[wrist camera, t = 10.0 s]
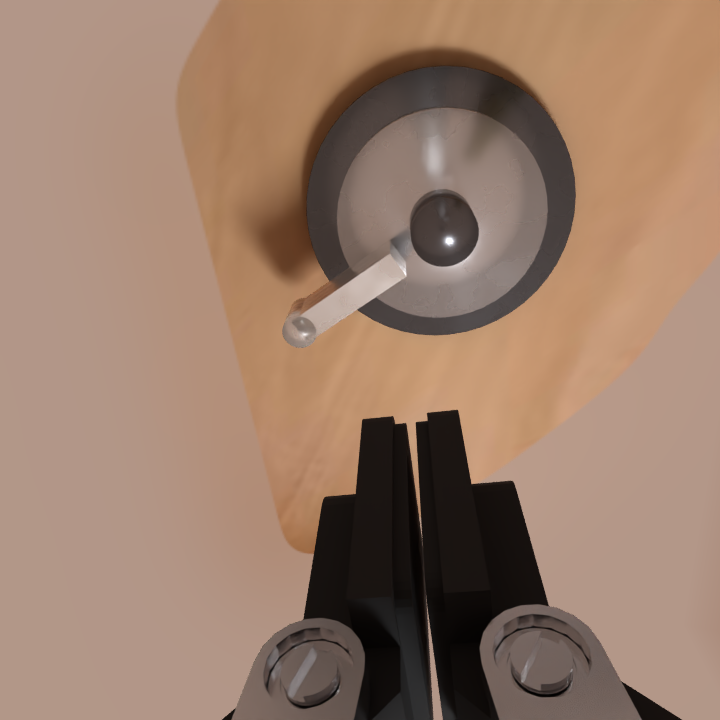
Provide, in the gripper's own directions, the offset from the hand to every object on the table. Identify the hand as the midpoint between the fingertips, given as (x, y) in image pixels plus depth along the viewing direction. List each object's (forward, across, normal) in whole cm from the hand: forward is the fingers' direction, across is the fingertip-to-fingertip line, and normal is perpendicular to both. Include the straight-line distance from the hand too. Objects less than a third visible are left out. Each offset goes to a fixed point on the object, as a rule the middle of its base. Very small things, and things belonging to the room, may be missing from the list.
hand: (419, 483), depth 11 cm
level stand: (+29, -2, +2) cm, 29 cm away
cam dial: (+28, 0, +3) cm, 28 cm away
